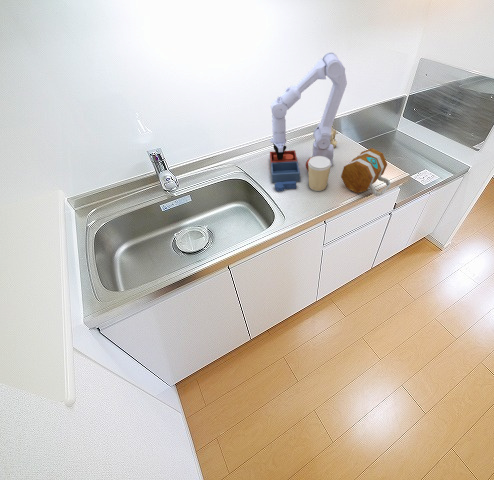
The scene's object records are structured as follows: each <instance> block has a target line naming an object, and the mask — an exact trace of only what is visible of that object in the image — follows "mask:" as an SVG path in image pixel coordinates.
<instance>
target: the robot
mask: <svg viewBox="0 0 494 480" xmlns="http://www.w3.org/2000/svg"><path fill="white" fill-rule="evenodd" d="M333 128H334V127H333V126H332V127H331V137H330V141H331V143H330V144H332V145H333V149H334V148H336V147H337V143H338V141H337V140H336V139H335V138H336V136H337V134H339V132H337V130H336V129H333Z"/></svg>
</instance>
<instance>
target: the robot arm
mask: <svg viewBox="0 0 494 480" xmlns="http://www.w3.org/2000/svg"><path fill="white" fill-rule="evenodd" d="M327 78H328V79H329V80H330V81H331V83H332V85H331V88H330V91H329V95H328V98H327V101H326V103H325V107H324V110H323V113H322V116H321V120H320V122H319V123H318V124H317V126H316V128H315V129H314V130H313V133H312V134H313V136H312V137H313V139H314V142H313V144H312V155H311V156H312V157H315V156H324V157H326V158H328V159H329V160H330V162H331V167H332V166H333V161H334V160H333V159H334V152H335V151H334V148H333V145H332V144H330V143H331V141H330V137H331V127H333V124H334V121H335V120H336V116H337V113H338V110H339V107H340V104H341V102H342V99H343V96H344V93H345V90H346V88H347V84H348V81H347V75H346V68H345V66H344V64H343V63H342V61H341V60H340V59H339V57H338V56H337V54H335V52H327V53H325V54H324V56H323V57H322V58H320V59H318V61H317V62H316V63H315V64H314V66H313V67H311V69H310V70H309V71H308V72H307V73H306V74H305V75H304V76H303V77H302V79H301V80H299V82H298V83H297V84H296V85H290V86H287V87H285V90H284V92H283V93H282V94H281V95H280V96H277V97H276V99H274V100H273V101H272V102H271V105H270V109H271V114H272V115H271V118H272V119H271V122H272V123H271V128H272V138H270V143H272V145H273V151H276V154H277V158H278V160H282V159H283V154H284V151H287V146H286V143H287V129H286V124H287V123H286V115H287V112H288V111H289V110H290V109H291V108H292V107H293V106H294V105H295V104H297V103H298V101H299V100H301V97H302V93H303V92H304V91H306V90H307V89H309V87H311V85H313V84H314V83H315V82H317V80H327Z"/></svg>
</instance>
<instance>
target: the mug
mask: <svg viewBox="0 0 494 480" xmlns="http://www.w3.org/2000/svg"><path fill="white" fill-rule="evenodd" d="M387 166H388V162H387V160H386V158H385V155H384V153H383V152H381V151H379V150H377V149H374V148H373V147H371V148H368V149H366V150H363V151H361V152H360V153H359V155H357V156H355V157H354V158H353V159H352V160H351V161H350V162H348V163H347V164H345V165H344V166H343V168H342V171H341V175H340V178H341V180H342V182H343V184H344V186H345V188H346V189H348V190H350V191H352V192H353V193H356V194H359V193H362V192H366V191H368V189H369V190H370V191H371V193H372V194H373V195H374V196H376V197H380V196H382V195H384V193H385V192H387V191H388V190H389V189H390V188H391V185H392V183H391V181H390V180H389V179H388V178H386V177H382V176H383V175H384V173H385V170H386V169H387ZM377 180H378V181H380V182H383V183H385V185H386V187H385V188H383V189H382V190H381V191H380V192H379V191H377V190H376V187H374V185H373V184H375V183H376V182H377Z"/></svg>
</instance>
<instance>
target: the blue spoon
mask: <svg viewBox="0 0 494 480" xmlns="http://www.w3.org/2000/svg"><path fill="white" fill-rule="evenodd" d="M295 189H297V182H296V181H290V182H277V183H274V190H275V191H276V192H280V193H281V192H284V191H285V190H295Z"/></svg>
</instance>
